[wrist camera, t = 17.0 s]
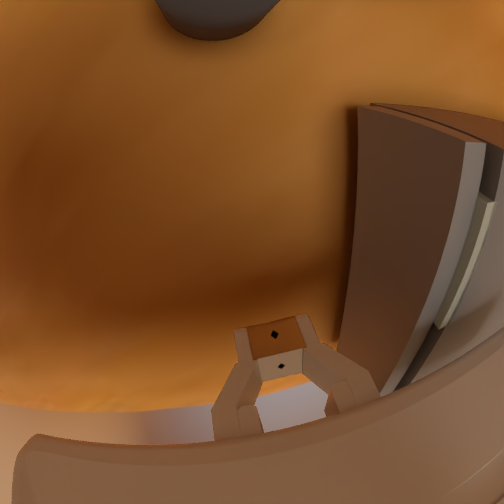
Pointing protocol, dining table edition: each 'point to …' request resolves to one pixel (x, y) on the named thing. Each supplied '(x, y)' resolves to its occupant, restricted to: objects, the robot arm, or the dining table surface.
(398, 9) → the dining table surface
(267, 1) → the grey rounded piece
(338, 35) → the dining table surface
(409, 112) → the housing
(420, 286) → the tray
